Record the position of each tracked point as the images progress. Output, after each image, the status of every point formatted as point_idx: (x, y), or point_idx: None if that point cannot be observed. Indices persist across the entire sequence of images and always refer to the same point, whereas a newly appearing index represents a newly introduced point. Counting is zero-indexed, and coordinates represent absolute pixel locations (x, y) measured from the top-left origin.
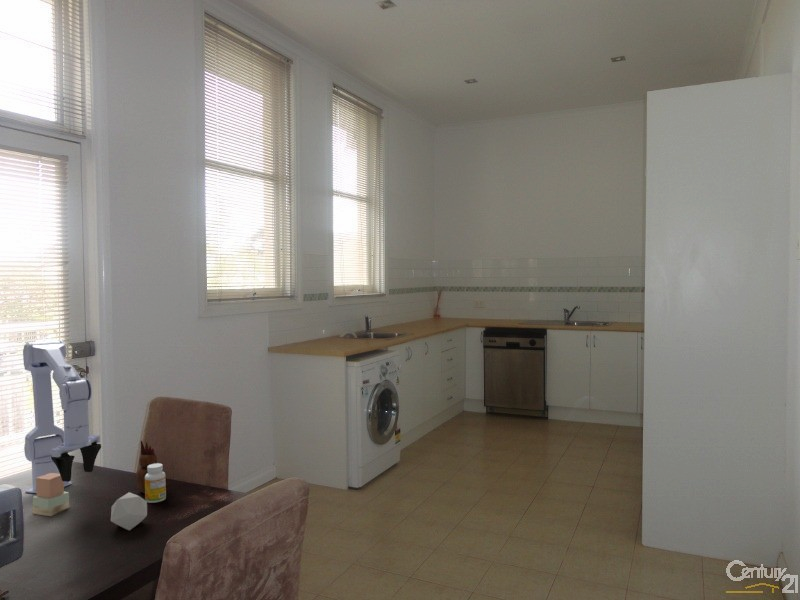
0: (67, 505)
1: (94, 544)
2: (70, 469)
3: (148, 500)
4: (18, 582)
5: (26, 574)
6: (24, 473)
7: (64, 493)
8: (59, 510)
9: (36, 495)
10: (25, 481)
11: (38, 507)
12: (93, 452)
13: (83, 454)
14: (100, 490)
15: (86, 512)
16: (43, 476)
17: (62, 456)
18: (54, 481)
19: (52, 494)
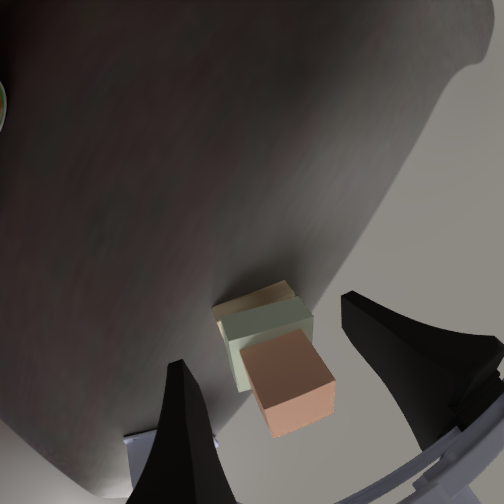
0: (220, 310)
1: None
2: (396, 327)
3: (3, 96)
4: (485, 17)
5: (475, 23)
6: None
7: (244, 341)
8: (253, 295)
9: None
10: None
11: None
12: (197, 477)
13: (224, 481)
14: (76, 365)
15: (206, 212)
16: (313, 417)
17: (494, 379)
18: (304, 378)
19: (294, 339)
